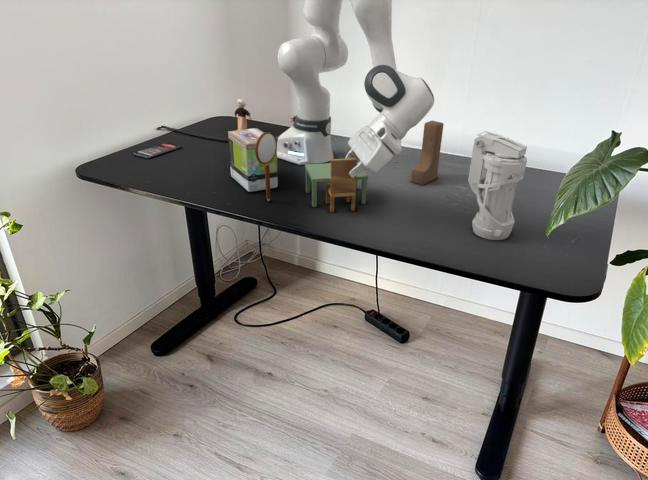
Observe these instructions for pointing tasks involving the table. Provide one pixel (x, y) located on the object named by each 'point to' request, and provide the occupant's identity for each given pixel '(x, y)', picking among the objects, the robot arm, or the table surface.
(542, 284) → the table surface
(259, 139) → the magnifying glass
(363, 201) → the side table
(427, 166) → the wooden block
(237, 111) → the grandmother figurine
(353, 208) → the chair
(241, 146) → the tea box
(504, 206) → the grey mechanical canister
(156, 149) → the smartphone
